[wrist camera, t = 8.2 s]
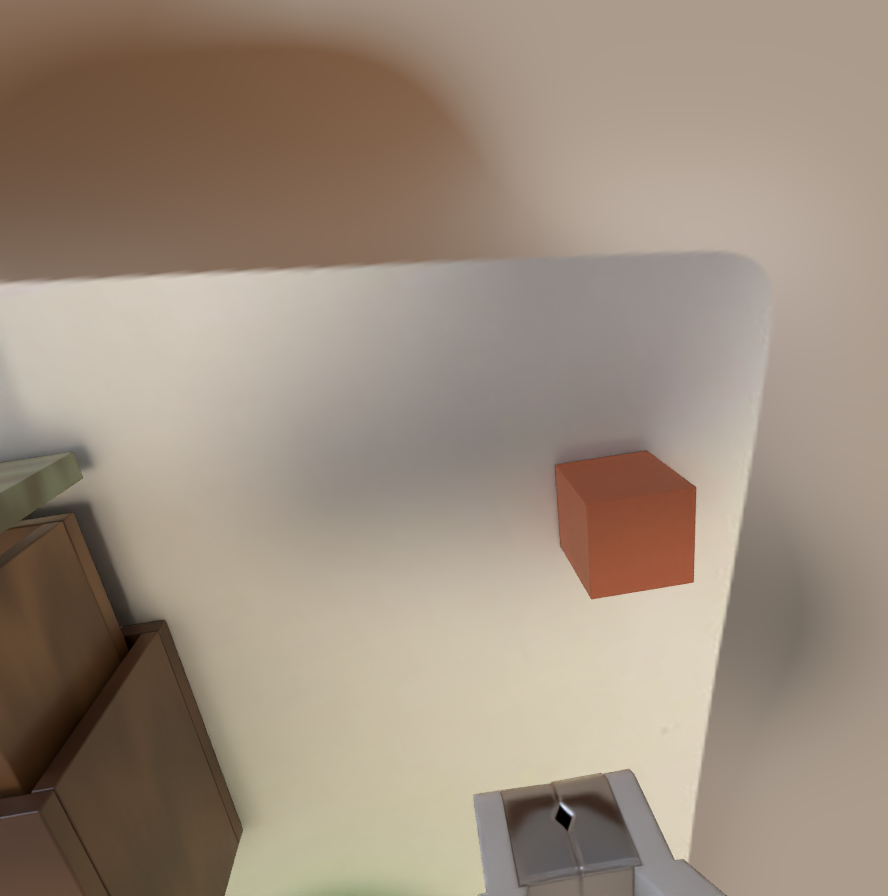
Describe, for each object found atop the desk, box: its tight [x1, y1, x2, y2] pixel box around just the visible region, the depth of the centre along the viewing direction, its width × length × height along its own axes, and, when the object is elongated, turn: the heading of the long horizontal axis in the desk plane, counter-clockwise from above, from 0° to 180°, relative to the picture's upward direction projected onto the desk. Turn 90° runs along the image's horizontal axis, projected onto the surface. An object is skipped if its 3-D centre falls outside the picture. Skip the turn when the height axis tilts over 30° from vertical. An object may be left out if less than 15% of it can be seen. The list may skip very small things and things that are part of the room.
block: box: [555, 451, 696, 599], centre depth 23 cm, size 4×4×4 cm
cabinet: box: [0, 620, 243, 896], centre depth 23 cm, size 15×13×10 cm
